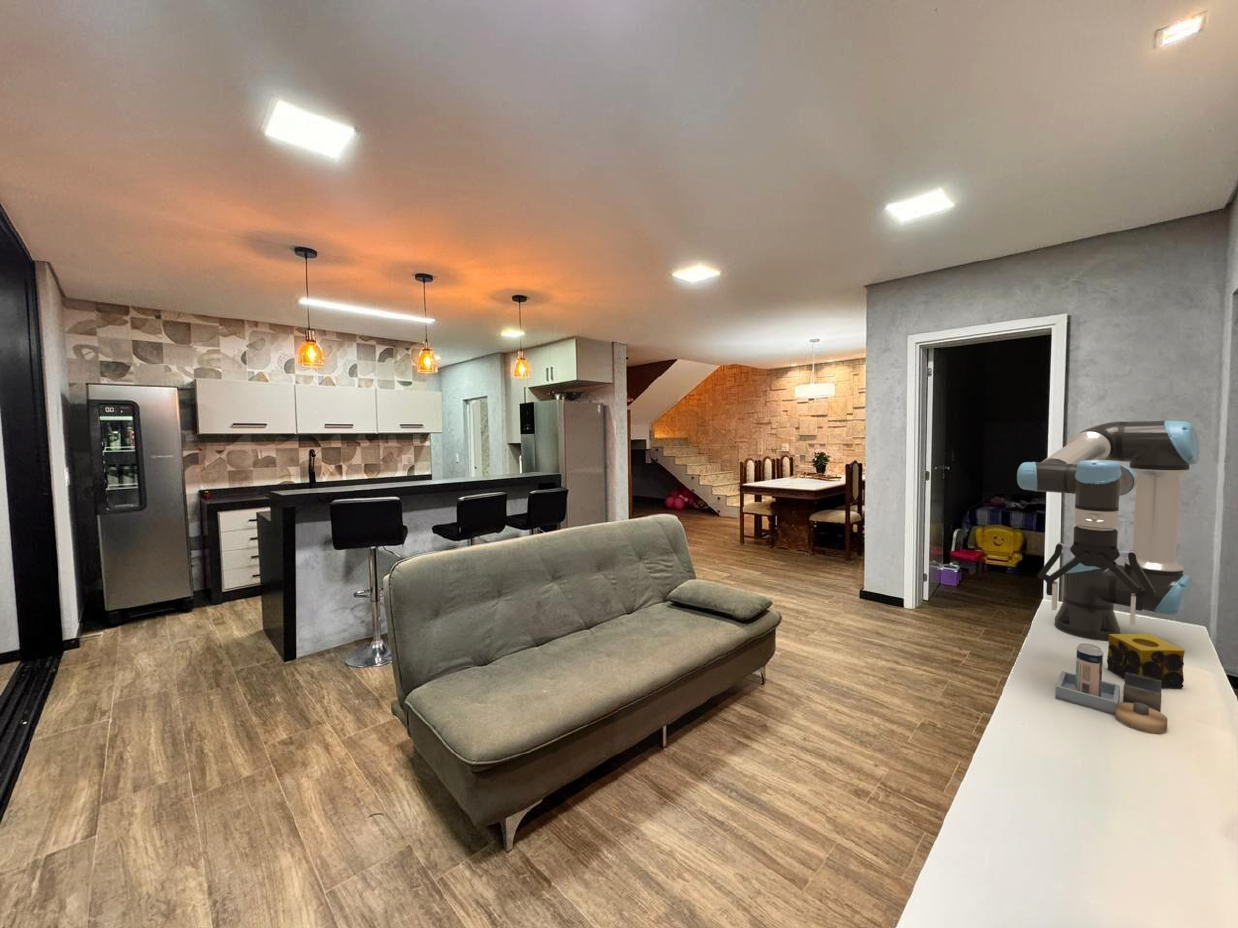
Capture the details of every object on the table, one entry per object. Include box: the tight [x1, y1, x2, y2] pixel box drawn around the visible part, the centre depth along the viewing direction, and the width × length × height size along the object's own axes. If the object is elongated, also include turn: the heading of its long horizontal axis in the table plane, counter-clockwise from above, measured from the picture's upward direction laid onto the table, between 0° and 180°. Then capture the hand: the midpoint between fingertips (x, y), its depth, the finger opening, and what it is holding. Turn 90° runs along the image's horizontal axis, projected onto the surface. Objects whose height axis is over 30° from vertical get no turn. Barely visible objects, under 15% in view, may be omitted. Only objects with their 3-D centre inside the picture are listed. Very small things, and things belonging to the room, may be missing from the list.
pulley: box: [1114, 701, 1168, 735], centre depth 113 cm, size 8×8×4 cm
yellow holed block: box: [1106, 633, 1186, 690], centre depth 131 cm, size 10×10×10 cm
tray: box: [1055, 670, 1121, 716], centre depth 123 cm, size 11×11×3 cm
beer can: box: [1075, 642, 1104, 697], centre depth 123 cm, size 5×5×12 cm
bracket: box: [1122, 672, 1162, 713], centre depth 120 cm, size 9×6×5 cm, turn 134°
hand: (1091, 615), depth 122 cm, fingers open, 13 cm apart
